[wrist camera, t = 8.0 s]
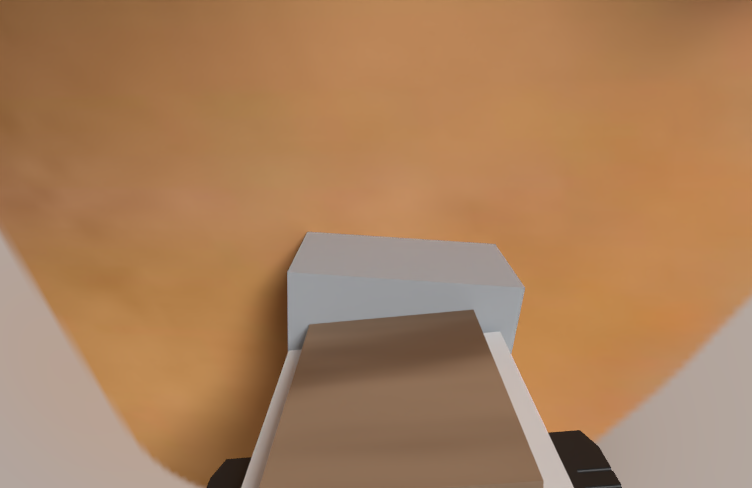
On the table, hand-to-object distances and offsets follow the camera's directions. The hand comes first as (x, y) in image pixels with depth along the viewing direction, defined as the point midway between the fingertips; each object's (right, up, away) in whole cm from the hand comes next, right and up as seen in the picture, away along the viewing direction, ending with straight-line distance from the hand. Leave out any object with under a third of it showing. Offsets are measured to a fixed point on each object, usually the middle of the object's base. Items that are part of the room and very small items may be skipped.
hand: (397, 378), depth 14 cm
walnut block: (0, 0, 0) cm, 0 cm away
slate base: (0, +1, +4) cm, 4 cm away
